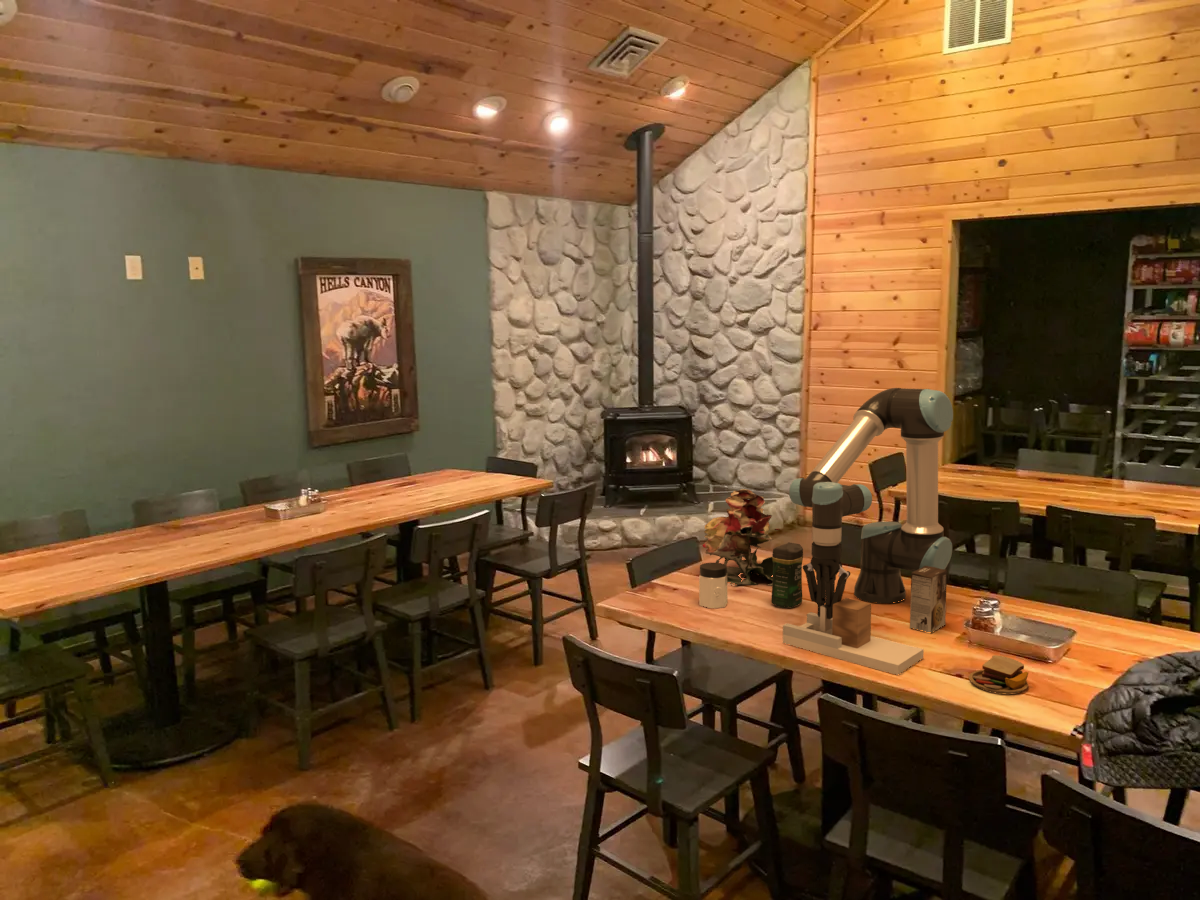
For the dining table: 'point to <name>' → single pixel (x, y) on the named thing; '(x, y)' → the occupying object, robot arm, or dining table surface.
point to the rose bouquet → (741, 537)
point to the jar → (713, 585)
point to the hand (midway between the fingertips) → (825, 629)
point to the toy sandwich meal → (1001, 675)
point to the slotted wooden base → (870, 654)
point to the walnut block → (852, 622)
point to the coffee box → (928, 598)
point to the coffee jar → (787, 575)
